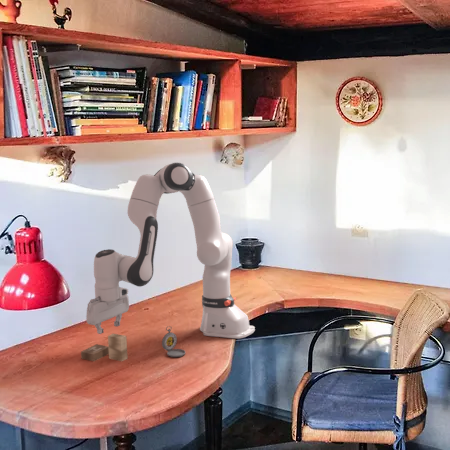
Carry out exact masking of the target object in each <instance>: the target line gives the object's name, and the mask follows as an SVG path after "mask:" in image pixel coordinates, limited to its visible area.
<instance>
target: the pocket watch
mask: <svg viewBox="0 0 450 450" xmlns="http://www.w3.org/2000/svg"><path fill="white" fill-rule="evenodd" d="M172 329H173V328H172V326H170V325H169V326H167V327H166V328H165V331H167V333H165V335H164V336H163V338H162V341H161V346H162V349H164V350H165V351H167V352H166V355H167V356H168V357H171V358H179V357H180V358H181V357H183V356H185V355H186V350H185V349H182V348H175V347H176V345H177V343H178V342H177V341H178V339H177V335H176V333H174V332H173V331H171V330H172Z"/></svg>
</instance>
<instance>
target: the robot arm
mask: <svg viewBox="0 0 450 450" xmlns="http://www.w3.org/2000/svg"><path fill="white" fill-rule="evenodd" d="M178 192H179V193H181V194H182V195H183V197H184V199H185V202H186V204H187V208H188V212H189V214H190V215H189V216H190V217H191V221H192V225H193V229H194V230H193V231H194V237H195V243H196V257H197V260H198V261H199V262H200V263H201V264H203V265H204V269H203V273H202V296H201V305H202V317H201V324H200V327H199V330H200V331H201V332H202V335H203V336H208V337H217V338H219V337H220V338H225V339H227V338H228V339H243V338H246V337H248V336H250V335H252V334H254V332H255V331H256V329H255V328H256V327H255V326H254V325H250V320H249V317H248V315H247V314H246V313H245V312H244V311H243V310H242V309H240V307H239V306H237V305H236V303H235V301H236V300H237V297H236V296H235V297H233V296H232V294H231V271H232V270H231V269H232V259H233V246H234V241H233V238H232V237H231V236H230V235H229V234H228V233H226V232H223V231H222V227H221V215H220V212H219V209H218V206H217V202H216V200H215V196H214V193H213V191H212V188H211V186H210V184H209V182H208V180H207V179H206V177H205V176H204V175H200V174H195V173H193V171H191V169H190V168H189V167H188V166H187V165H185V164H184V163H181V162H172V163H170V164H169V163H168V164H167V165H166V164H165V166H163V167H162V168H160V169H159V170H157V172H155V174H154V175H153V174H141V175H140V176H139V178H138V179H137V181H136V182H135V185H134V188H133V190H132V192H131V195H130V199H129V201H128V202H129V203H128V205H127V216H128V218H129V220H130V221H131V223H132V224H134V225H135V226H136V227H137V229H138V230H139V233H140V234H139V235H140V237H139V244H138V251H137V256H136V257H134V256H130V255H126V254H122V253H119V252H117V251H115V249H103V250H100V251H99V252H97V253H96V254H95V256H94V259H93V277H94V280H95V283H94V298H91V299H90V300H89V301H88V303H87V308H86V316H85V317H86V321H85V322H86V323H87V324H88V325H91V326H94V327H95V328H96V331H97V334H98V335H102V334H104V328H103V327H101V325H102V323H103V322H106V321H108V320H110V319H112V318H115V320H114V321H113V326H114V327H120V326H121V321H122V317H123V314H125V313H127V312H128V311H129V308H130V302H129V301H130V300H129V295H128V294H129V289H128V288H125V287H120V285H119V284H120V283H119V282H121V281H123V282H124V283H129V284H131V285H133V286H136V287H139V288H141V287H143V286H146V285H147V284H149V283H150V282H151V281H152V279H153V276H154V259H155V251H156V246H157V245H156V244H157V238H158V232H159V223H158V220H157V214H158V208H159V204H160V201H161V199H162V196H163V195H164V194H167V195H168V194H174V193H178Z"/></svg>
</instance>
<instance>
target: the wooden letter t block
mask: <svg viewBox="0 0 450 450" xmlns="http://www.w3.org/2000/svg"><path fill="white" fill-rule="evenodd" d="M127 340H128V339H127V335H123V334H117V333H111V334H109V335H108V336H107V346H108V348H109V354H108V359H110V360H112V361H113V360H114V361H118V362H123V361H124V362H125V360H128V347H127V346H128V345H127V343H128V342H127Z"/></svg>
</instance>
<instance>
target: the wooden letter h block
mask: <svg viewBox="0 0 450 450" xmlns="http://www.w3.org/2000/svg"><path fill="white" fill-rule="evenodd" d="M105 356H109V348H108V345H102V344H98V343H96V344H94V345H92V346H90V347H88V348H86V349H83V350H82V351H81V352H80V358H81V359H82V360H86V361H91V362H96V361H98V360H100V359H102V358H105ZM81 359H80V360H81Z"/></svg>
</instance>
